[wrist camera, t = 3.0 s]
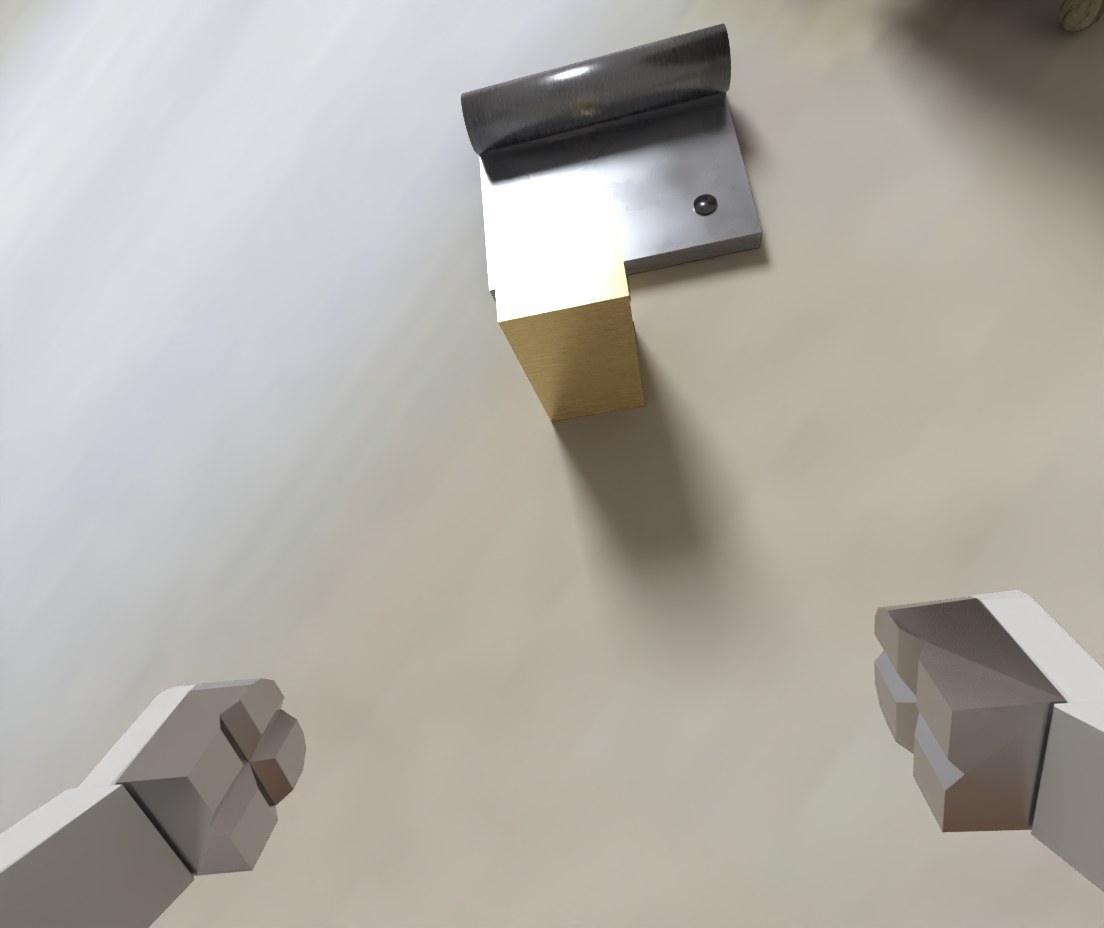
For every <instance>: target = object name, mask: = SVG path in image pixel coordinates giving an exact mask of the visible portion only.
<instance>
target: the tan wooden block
mask: <svg viewBox="0 0 1104 928" xmlns="http://www.w3.org/2000/svg"><path fill="white" fill-rule="evenodd" d="M490 223H491V236H492V249H493V262H494V275H495V288H496V301H497V314H498V323H499V325H500V326H501V328H502V330H503V332H504V334H505V336H506V338H507V340H508V341H509V343H510V345H511V347H512V349H513V351H514V353H515V355H516V356H517V358H518V360H519V362H520V364H521V366H522V368H523V370H524V371H525V373H526V375H527V377H528V379H529V381H530V383H531V385H532V386H533V388H534V390H535V392H536V394H537V396H538V398H539V400H540V401H541V403H542V405H543V407H544V409H545V411H546V413H547V415H548V416H549V418H550V420H551V422H553V421H559V420H565V419H570V418H576V417H582V416H588V415H594V414H599V413H605V412H611V411H617V410H623V409H628V408H634V407H640V406H645V403H644V396H643V389H642V383H641V376H640V369H639V362H638V355H637V348H636V345H637V340H636V334H635V327H634V322H633V320H632V313H631V306H630V301H631V297H630V291H629V284H628V278H627V274H625V268H624V262H623V256H622V250H621V244H620V238H619V232H618V226H617V220H616V214H615V208H614V202H613V196H612V190H611V189H609V190H605V191H601V192H596V193H592V194H588V195H583V196H579V197H575V198H570V199H566V200H562V201H557V202H553V203H549V204H544V205H540V206H536V207H531V208H527V209H523V210H519V211H514V212H510V213H506V214H501V215H497V216H493V217H490Z"/></svg>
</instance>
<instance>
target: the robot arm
mask: <svg viewBox="0 0 1104 928" xmlns="http://www.w3.org/2000/svg"><path fill="white" fill-rule="evenodd" d="M874 634H875V635H876V637H877V639H878V641H879V642H880V644H881V646H882V648H883V649H884V651H883V652H882V653H881V654H880V656H879V657H878V658H877V659H876V660H875V661H874V667H875V685H876V689H877V694H878V699H879V703H880V707H881V709H882V712H883V715H884V717H885V720H886V723H887V725H888V727H889V729H890V731H891V733H892V735H893V737H894V739H895V741H896V742H897V743H899V744H900V745H901V746H903V747H904V748H906V749H907V750H909V751H910V752H912V753H913V754H914V767H913V776H914V778H915V780H916V782H917V784H918V786H919V788H920V790H921V792H922V794H923V796H924V798H925V800H926V801H927V803H928V805H929V807H930V809H931V811H932V813H933V815H934V817H935V819H936V821H937V823H938V825H939V826H940V828H941V830H942V832H967V831H1002V830H1032V832H1031V834H1032V835H1033V836H1034V837H1035V838H1037V839H1038V840H1039V841H1040V842H1042V843H1043V844H1044V845H1045V846H1047V847H1048V848H1049V849H1050V850H1052V851H1053V852H1054V853H1055V854H1057V855H1058V856H1059V857H1061V858H1062V859H1063V860H1064V861H1066V862H1067V863H1068V864H1069V865H1071V866H1072V867H1073V868H1074V869H1076V870H1077V871H1078V872H1079V873H1081V874H1082V875H1083V876H1084V877H1086V878H1087V879H1088V880H1089V881H1091V882H1092V883H1093V884H1094V885H1096V886H1097V887H1098V888H1099V889H1101V890H1102V891H1103V892H1104V669H1103V668H1102V667H1101V666H1100V665H1099V664H1098V663H1097V662H1096V661H1095V660H1094V659H1093V658H1092V657H1091V656H1090V655H1089V654H1088V653H1087V652H1086V651H1085V650H1084V649H1083V648H1082V647H1081V646H1080V645H1079V644H1078V643H1077V642H1076V641H1075V640H1074V639H1073V638H1072V637H1070V636H1069V635H1068V634H1067V633H1066V632H1065V631H1064V630H1063V629H1062V628H1061V627H1060V626H1059V625H1058V624H1057V623H1056V622H1055V621H1054V620H1053V619H1052V618H1051V617H1050V616H1049V615H1048V614H1047V613H1046V612H1045V611H1044V610H1043V609H1042V608H1041V607H1040V606H1039V605H1038V604H1037V603H1036V602H1035V601H1034V600H1033V599H1032V598H1031V597H1030V596H1029V595H1028V594H1025V593H1023V592H1021V591H1019V590H1011V591H1003V592H995V593H988V594H980V595H973V596H969V597H968V598H965V597H962V598H954V599H946V600H938V601H930V602H921V603H913V604H905V605H897V606H888V607H880V608H878V610H877V612H876V615H875V632H874ZM283 700H284V696H283V694H282V693H281V691H280V689H279V688H278V686H277V685H276V683H275V681H274V680H269V679H263V678H259V679H248V680H236V681H225V682H213V683H203V684H201V685H188V686H175V687H172V688H169V689H167V690H165V691H163V692H161V693H159V694H158V695H157V697H156V698H155V699H154V700H153V701H152V702H151V704H150V705H149V706H148V707H147V708H146V709H145V710H144V712H143V713H142V714H141V715H140V716H139V717H138V719H137V720H136V721H135V722H134V723H133V724H132V725H131V727H130V728H129V729H128V730H127V731H126V732H125V734H124V735H123V736H122V737H121V738H120V739H119V740H118V742H117V743H116V744H115V745H114V746H113V747H112V749H111V750H110V751H109V752H108V753H107V754H106V755H105V757H104V758H103V759H102V760H101V761H100V762H99V764H98V765H97V766H96V767H95V768H94V769H93V770H92V772H91V773H90V774H89V775H88V776H87V777H86V779H85V780H84V781H83V782H82V783H81V784H80V785H79V787H78V788H72V789H67V790H65V791H64V792H62V793H61V794H59V795H58V796H56V797H55V798H53V799H52V800H50V801H49V802H47V803H46V804H44V805H43V806H42V807H40V808H39V809H37V810H36V811H34V812H33V813H31V814H30V815H28V816H27V817H25V818H24V819H22V820H21V821H19V822H18V823H16V824H15V825H13V826H12V827H11V828H9V829H8V830H6V831H5V832H3V833H2V834H0V928H149V927H150V926H151V924H152V923H153V922H154V921H155V920H156V919H157V918H158V917H159V916H160V915H161V914H162V913H163V912H164V911H165V910H166V909H167V908H168V907H169V906H170V905H171V904H172V903H173V901H174V900H175V899H176V898H177V897H178V896H179V895H180V894H181V893H182V892H183V891H184V890H185V889H186V888H187V887H188V886H189V885H190V884H191V883H192V882H193V881H194V877H193V876H197V875H208V874H219V873H230V872H241V871H252V870H253V868H254V866H255V864H256V862H257V860H258V859H259V857H260V855H261V853H262V851H263V849H264V847H265V845H266V843H267V841H268V839H269V837H270V835H271V833H272V831H273V829H274V827H275V825H276V823H277V821H278V818H277V811H276V805H277V804H278V803H279V802H280V801H281V800H282V799H284V798H285V797H286V796H287V795H288V794H289V793H290V792H291V791H292V790H294V787H295V785H296V783H297V781H298V779H299V777H300V775H301V773H302V771H303V766H304V759H305V753H306V744H305V739H304V733H303V731H302V729H301V727H300V725H299V723H298V721H297V719H295V718H293V717H292V716H290V715H289V714H287V713H286V712H284V711H283V710H281V707H282V704H283Z"/></svg>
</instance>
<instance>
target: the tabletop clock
mask: <svg viewBox="0 0 1104 928" xmlns="http://www.w3.org/2000/svg"><path fill="white" fill-rule="evenodd" d="M1103 13H1104V0H1065V1H1064V2H1063V4H1062V6H1061V8H1060V10H1059V15H1058V20H1059V24H1060V25H1061V26H1062V28H1063V29H1065V30H1067V31H1070V32H1075V31H1081V30H1083V29H1085V28H1087V27H1089V26H1090V25H1092V24H1093V23H1094V22H1096V21H1097V20H1098V19H1099V18H1100V17H1101V16H1102V14H1103Z"/></svg>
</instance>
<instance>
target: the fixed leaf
mask: <svg viewBox="0 0 1104 928" xmlns="http://www.w3.org/2000/svg"><path fill="white" fill-rule="evenodd" d="M730 77H731V59H730V46H729V39H728V34H727V30H726V27H725V25H724V24H719V25H716V26H712V27H708V28H705V29H701V30H697V31H693V32H690V33H686V34H682V35H678V36H675V37H671V38H667V39H664V40H660V41H656V42H652V43H649V44H645V45H641V46H637V47H634V48H630V49H626V50H623V51H619V52H615V53H611V54H608V55H604V56H600V57H596V58H593V59H589V60H585V61H582V62H578V63H574V64H570V65H567V66H563V67H559V68H555V69H552V70H548V71H544V72H541V73H537V74H533V75H529V76H526V77H522V78H518V79H514V80H511V81H507V82H503V83H500V84H496V85H492V86H488V87H485V88H481V89H477V90H473V91H470V92H466V93H462V95H461V104H462V111H463V116H464V121H465V125H466V129H467V132H468V135H469V138H470V141H471V144H472V146H473V149H474V151H475V152H476V153H477V154H479V156H480V168H481V181H482V195H483V209H484V223H485V237H486V250H487V264H488V278H489V290H490V292H491V294H492V296H493V298H494V300H495V302H497V301H496V288H495V275H494V262H493V249H492V236H491V223H490V217H493V216H497V215H501V214H506V213H510V212H514V211H519V210H523V209H527V208H531V207H536V206H540V205H544V204H549V203H553V202H557V201H562V200H566V199H570V198H575V197H579V196H583V195H588V194H592V193H596V192H601V191H605V190H609V189H611V190H612V196H613V202H614V208H615V214H616V220H617V226H618V232H619V238H620V244H621V250H622V256H623V262H624V268H625V274H627V275H629V274H634V273H639V272H643V271H648V270H653V269H658V268H663V267H667V266H672V265H677V264H682V263H687V262H691V261H696V260H701V259H706V258H711V257H715V256H720V255H725V254H730V253H735V252H739V251H744V250H749V249H754V248H759V246H760V240H761V235H762V230H761V226H760V222H759V219H758V215H757V211H756V207H755V204H754V200H753V196H752V192H751V188H750V185H749V181H748V177H747V173H746V170H745V166H744V162H743V158H742V155H741V151H740V147H739V143H738V140H737V136H736V132H735V128H734V124H733V121H732V117H731V113H730V109H729V106H728V102H727V98H726V92H727V91H728V90H729V86H730Z"/></svg>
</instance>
